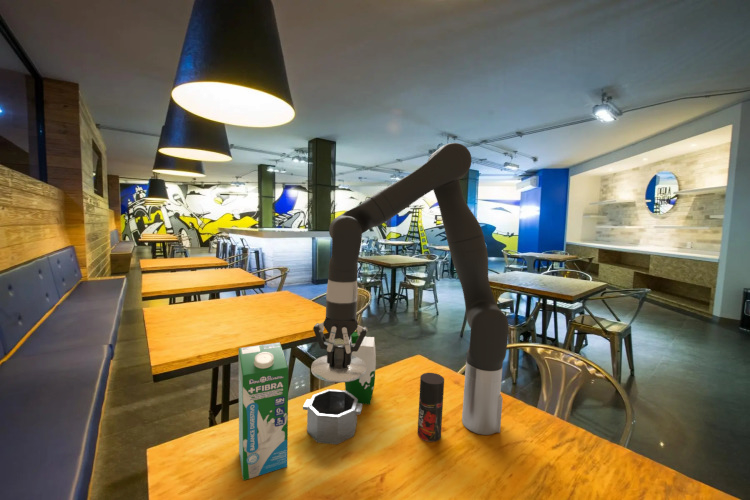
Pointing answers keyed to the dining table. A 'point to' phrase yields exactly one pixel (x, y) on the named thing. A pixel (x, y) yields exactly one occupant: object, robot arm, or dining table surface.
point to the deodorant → (430, 407)
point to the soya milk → (365, 384)
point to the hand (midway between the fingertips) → (338, 365)
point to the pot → (332, 416)
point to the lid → (338, 367)
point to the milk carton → (263, 409)
